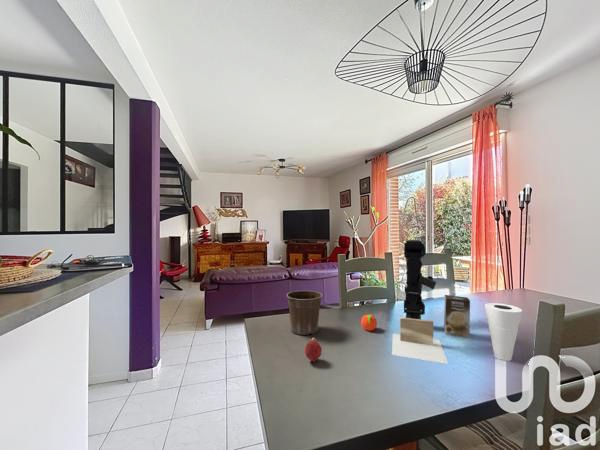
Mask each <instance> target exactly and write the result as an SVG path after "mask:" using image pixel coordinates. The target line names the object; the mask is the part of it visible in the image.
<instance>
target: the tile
mask: <svg viewBox="0 0 600 450" xmlns="http://www.w3.org/2000/svg"><path fill="white" fill-rule="evenodd" d="M399 324H400V325H399V330H400V332H399V334H400V341H406V342H413V343H420V344H427V345H433V339H434V321H433V320H427V319H421V320H420V319H411V318H406V317H401V316H400V317H399Z"/></svg>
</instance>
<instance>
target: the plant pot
mask: <svg viewBox="0 0 600 450" xmlns="http://www.w3.org/2000/svg"><path fill="white" fill-rule="evenodd" d="M286 297H287V305H288V308H289V320H290V330H291V332H292V333H294V334H295V335H300V336H309V334H311V335H313V334H316V333H317V332H318V330H319V319H320V308H321V303H322V297H323V293H321V292H318V291H314V290H294V291H290V292H287V293H286Z"/></svg>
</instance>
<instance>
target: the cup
mask: <svg viewBox="0 0 600 450" xmlns="http://www.w3.org/2000/svg"><path fill="white" fill-rule="evenodd" d="M484 308H485V309H484V310H485V315H486V320H487V324H488V329H489V333H490V339H491V344H492V345H491V346H492V349H493V355H494V357H495V358H496V359H498V360H500V361H505V362H510V361H512V359H513V354H514V349H515V343H516V340H517V335H518V330H519V326H520V323H521V322H520V321H521V317H522V314H523V313H522V312H523V310H522V309H521V308H520V307H517V306H515V305H511V304H507V303H501V302H486V303H485V304H484Z"/></svg>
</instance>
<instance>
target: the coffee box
mask: <svg viewBox="0 0 600 450" xmlns="http://www.w3.org/2000/svg"><path fill="white" fill-rule="evenodd" d="M443 314H444V316H443V317H444V318H443V319H444V321H443V322H444V324H443V331H444V334H445V335H448V336H449V335H450V336H455V337H462V338H467V339H470V334H471V333H470V332H471V330H470V329H471V326H470V325H471V324H470V323H471V322H470V321H471V319H470V318H471V300H470V298H468V297H467V296H466V297H465V296H460V295H459V296H457V295H451V294H449V295H448V294H444V313H443Z"/></svg>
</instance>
